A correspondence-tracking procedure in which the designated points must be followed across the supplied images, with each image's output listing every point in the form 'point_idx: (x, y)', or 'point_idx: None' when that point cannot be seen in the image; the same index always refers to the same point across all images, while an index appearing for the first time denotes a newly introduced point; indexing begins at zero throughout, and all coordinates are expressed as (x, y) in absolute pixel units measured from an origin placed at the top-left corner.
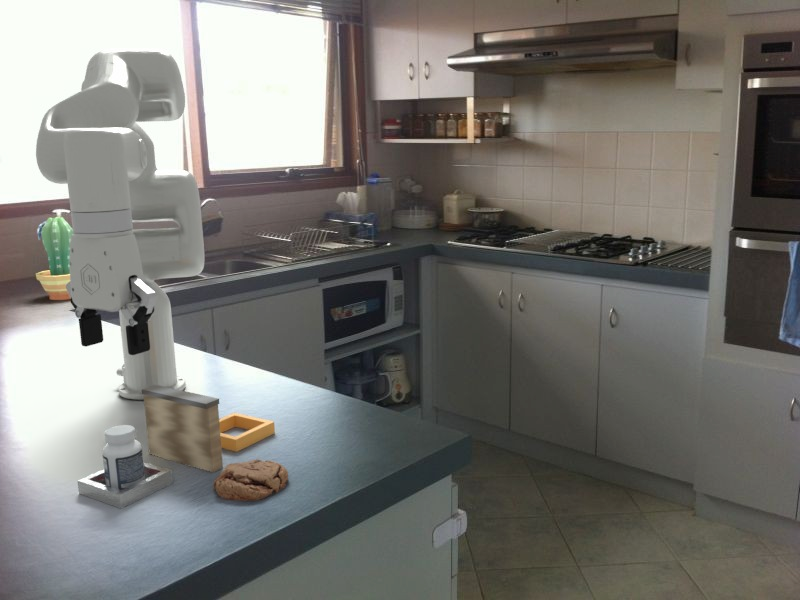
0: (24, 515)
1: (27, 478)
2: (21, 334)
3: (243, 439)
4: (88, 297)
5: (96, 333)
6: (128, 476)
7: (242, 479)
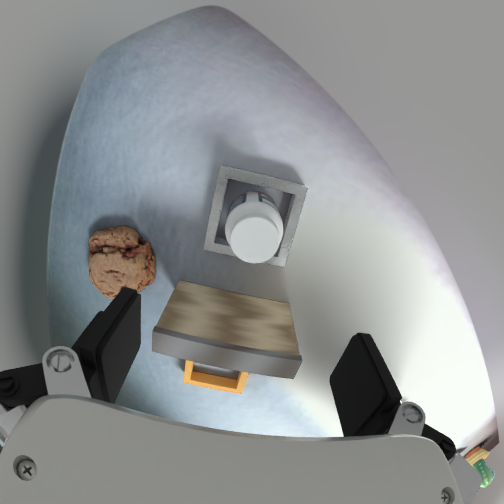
0: (329, 120)
1: (392, 208)
2: (488, 416)
3: None
4: (312, 498)
5: (343, 385)
6: (233, 204)
7: (110, 249)
